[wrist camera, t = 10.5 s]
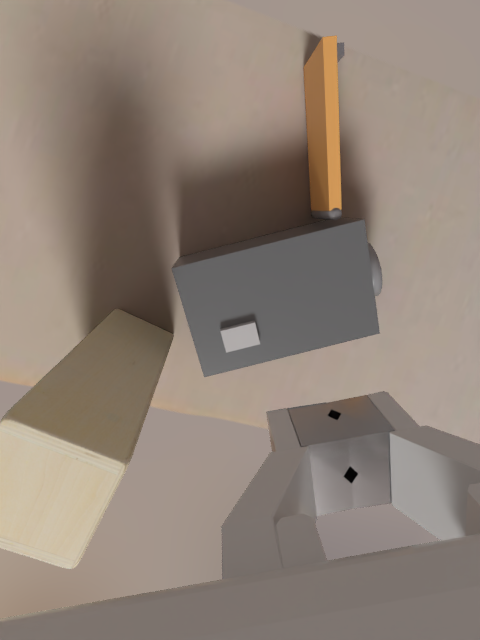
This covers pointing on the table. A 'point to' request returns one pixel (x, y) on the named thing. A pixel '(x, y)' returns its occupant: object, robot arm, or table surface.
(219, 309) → the gray box
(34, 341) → the table surface
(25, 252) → the table surface
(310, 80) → the door
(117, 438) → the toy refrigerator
